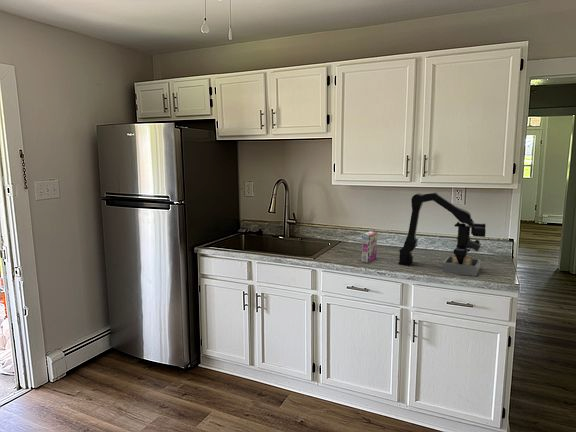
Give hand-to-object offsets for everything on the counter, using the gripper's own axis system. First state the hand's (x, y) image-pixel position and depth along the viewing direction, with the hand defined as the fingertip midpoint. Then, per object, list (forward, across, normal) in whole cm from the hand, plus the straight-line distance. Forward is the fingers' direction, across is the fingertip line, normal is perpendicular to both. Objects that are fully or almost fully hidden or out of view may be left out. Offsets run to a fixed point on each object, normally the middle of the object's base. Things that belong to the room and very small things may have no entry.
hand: (461, 264), depth 215 cm
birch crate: (+1, 0, 0) cm, 1 cm away
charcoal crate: (+3, 0, 0) cm, 3 cm away
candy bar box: (+4, -6, +49) cm, 49 cm away
